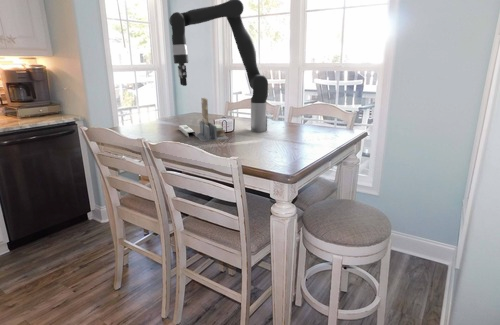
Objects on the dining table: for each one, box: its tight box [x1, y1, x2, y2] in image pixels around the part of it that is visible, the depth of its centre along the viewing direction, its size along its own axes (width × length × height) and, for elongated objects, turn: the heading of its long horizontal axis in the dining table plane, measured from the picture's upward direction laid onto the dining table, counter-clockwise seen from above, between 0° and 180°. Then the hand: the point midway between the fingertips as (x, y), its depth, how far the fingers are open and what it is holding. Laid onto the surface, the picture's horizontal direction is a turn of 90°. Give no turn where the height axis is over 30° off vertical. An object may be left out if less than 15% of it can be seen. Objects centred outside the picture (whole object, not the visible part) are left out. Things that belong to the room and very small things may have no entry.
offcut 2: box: [217, 129, 226, 134], centre depth 184 cm, size 5×10×2 cm, turn 25°
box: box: [178, 124, 198, 138], centre depth 186 cm, size 4×4×28 cm
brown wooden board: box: [201, 97, 209, 126], centre depth 182 cm, size 2×6×20 cm, turn 21°
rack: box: [195, 120, 230, 142], centre depth 180 cm, size 15×21×8 cm
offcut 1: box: [214, 123, 224, 131], centre depth 184 cm, size 5×10×2 cm, turn 18°
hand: (183, 85), depth 177 cm, fingers open, 8 cm apart
